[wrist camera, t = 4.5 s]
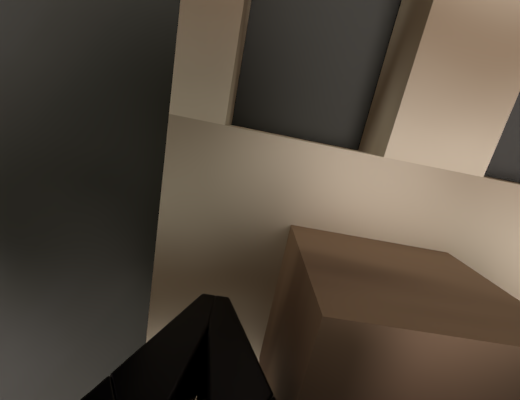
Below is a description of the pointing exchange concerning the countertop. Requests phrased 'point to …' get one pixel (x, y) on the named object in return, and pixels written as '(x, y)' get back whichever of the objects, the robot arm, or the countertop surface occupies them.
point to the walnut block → (387, 324)
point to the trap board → (337, 159)
